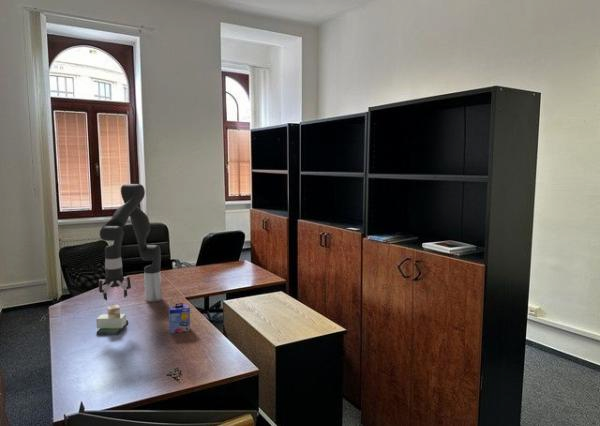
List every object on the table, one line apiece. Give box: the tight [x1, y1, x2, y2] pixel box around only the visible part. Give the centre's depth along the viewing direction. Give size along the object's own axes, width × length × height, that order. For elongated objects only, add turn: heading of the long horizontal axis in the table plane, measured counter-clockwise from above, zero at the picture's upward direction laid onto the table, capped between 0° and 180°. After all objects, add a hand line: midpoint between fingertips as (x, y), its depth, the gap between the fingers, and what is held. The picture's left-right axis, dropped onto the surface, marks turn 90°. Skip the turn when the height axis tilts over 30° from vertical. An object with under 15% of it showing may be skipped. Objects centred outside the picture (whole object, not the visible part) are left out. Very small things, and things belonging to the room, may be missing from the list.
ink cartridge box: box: [168, 302, 191, 334], centre depth 209 cm, size 10×6×14 cm, turn 113°
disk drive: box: [96, 319, 129, 336], centre depth 212 cm, size 10×3×15 cm
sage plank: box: [96, 313, 127, 330], centre depth 211 cm, size 12×6×5 cm, turn 93°
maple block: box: [107, 304, 121, 319], centre depth 210 cm, size 5×5×5 cm
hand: (115, 298), depth 209 cm, fingers open, 8 cm apart
